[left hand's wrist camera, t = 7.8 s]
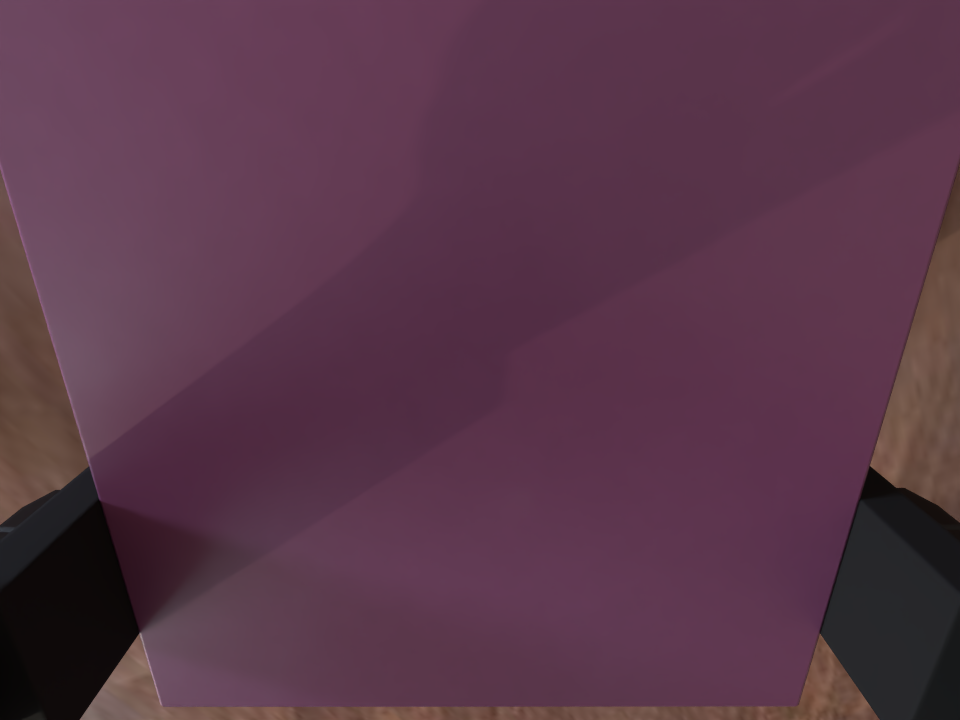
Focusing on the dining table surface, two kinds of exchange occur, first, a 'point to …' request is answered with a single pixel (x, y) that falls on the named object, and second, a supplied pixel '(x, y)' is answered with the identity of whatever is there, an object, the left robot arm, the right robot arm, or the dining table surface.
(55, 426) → the dining table surface
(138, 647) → the dining table surface
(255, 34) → the cabinet
